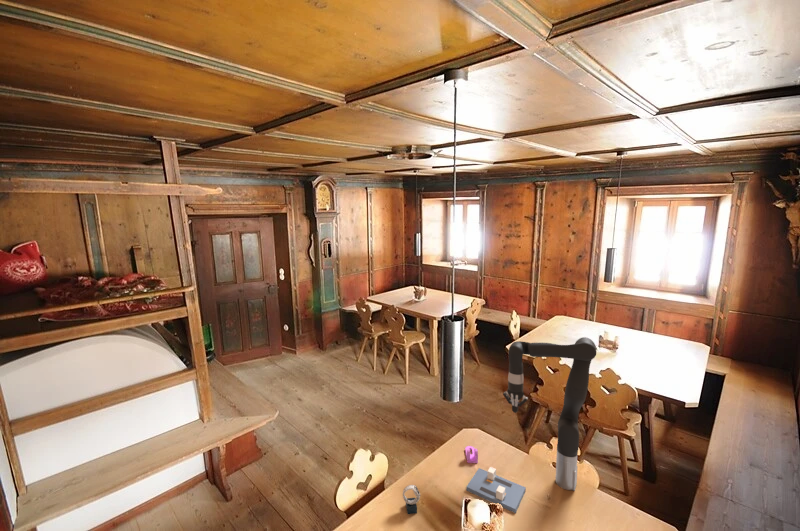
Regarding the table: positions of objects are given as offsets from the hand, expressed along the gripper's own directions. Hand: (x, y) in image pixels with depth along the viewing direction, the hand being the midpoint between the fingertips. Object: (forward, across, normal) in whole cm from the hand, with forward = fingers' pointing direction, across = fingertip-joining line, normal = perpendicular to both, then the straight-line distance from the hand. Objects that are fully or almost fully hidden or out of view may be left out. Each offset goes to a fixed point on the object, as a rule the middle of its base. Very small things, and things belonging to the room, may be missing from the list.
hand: (515, 411), depth 182 cm
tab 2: (+29, -2, +27) cm, 39 cm away
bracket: (+32, +23, +3) cm, 39 cm away
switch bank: (+31, +2, +22) cm, 38 cm away
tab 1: (+29, +6, +16) cm, 34 cm away
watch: (+31, +31, +54) cm, 69 cm away
